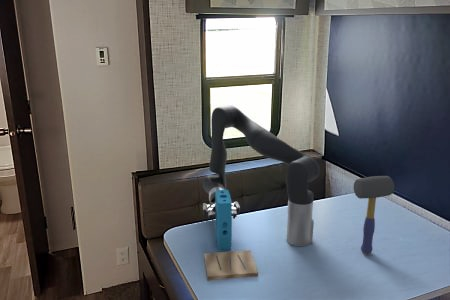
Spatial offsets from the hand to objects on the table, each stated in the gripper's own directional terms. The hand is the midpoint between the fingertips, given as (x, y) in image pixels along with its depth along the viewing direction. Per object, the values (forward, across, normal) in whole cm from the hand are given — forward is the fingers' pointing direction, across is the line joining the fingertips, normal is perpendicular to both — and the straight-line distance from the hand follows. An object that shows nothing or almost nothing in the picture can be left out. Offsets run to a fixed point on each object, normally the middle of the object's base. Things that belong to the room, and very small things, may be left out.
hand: (223, 217), depth 163 cm
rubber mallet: (+14, +51, +11) cm, 54 cm away
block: (+1, 0, +11) cm, 11 cm away
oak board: (+16, 0, +11) cm, 19 cm away
